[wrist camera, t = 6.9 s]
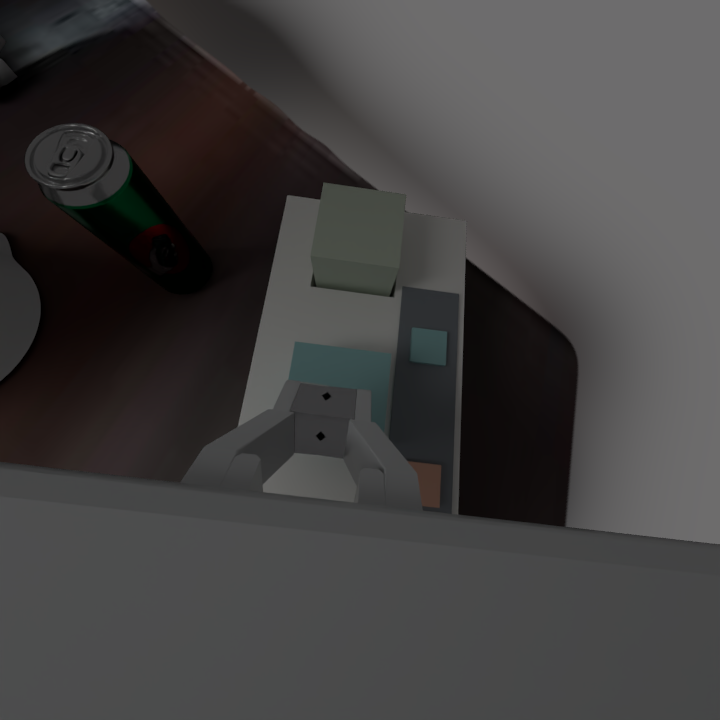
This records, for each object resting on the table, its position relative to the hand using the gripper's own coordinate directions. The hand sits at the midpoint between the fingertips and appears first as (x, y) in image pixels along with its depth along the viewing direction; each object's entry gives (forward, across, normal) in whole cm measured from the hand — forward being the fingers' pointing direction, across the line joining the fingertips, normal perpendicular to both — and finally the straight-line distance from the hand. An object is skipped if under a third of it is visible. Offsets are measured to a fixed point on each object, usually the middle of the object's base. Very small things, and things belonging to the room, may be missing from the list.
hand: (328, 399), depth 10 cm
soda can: (+19, +16, +3) cm, 25 cm away
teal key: (+6, 0, +5) cm, 8 cm away
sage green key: (+13, 0, -2) cm, 13 cm away
